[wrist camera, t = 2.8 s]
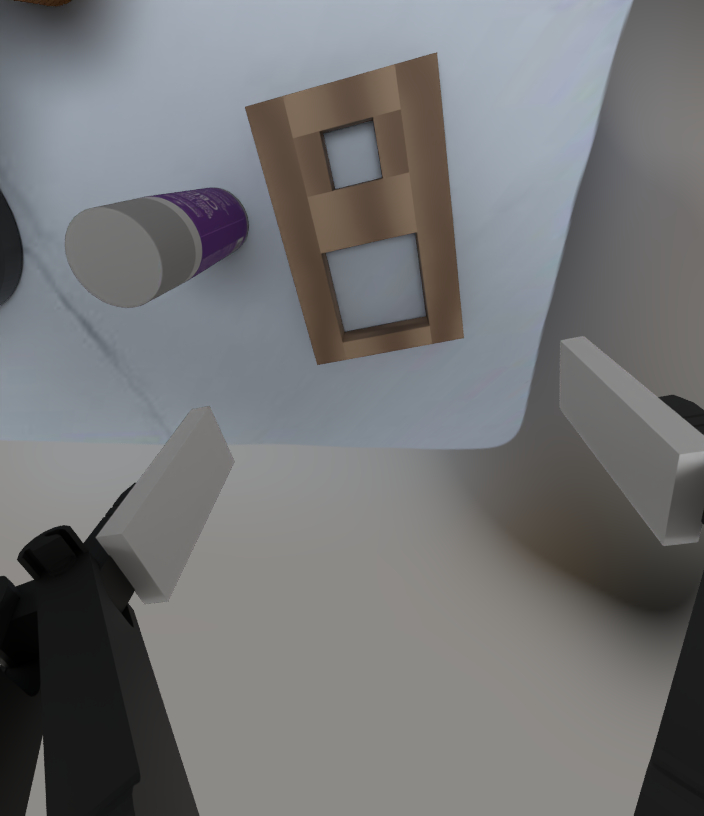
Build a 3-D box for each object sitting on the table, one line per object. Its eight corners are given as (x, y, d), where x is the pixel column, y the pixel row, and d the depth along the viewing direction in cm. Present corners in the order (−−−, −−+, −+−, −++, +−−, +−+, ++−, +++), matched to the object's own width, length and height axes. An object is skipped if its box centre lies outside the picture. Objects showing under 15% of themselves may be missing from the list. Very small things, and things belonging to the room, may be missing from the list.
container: (247, 189, 31) (156, 208, 18) (250, 256, 34) (172, 314, 21) (183, 184, 31) (48, 199, 18) (191, 251, 34) (76, 306, 21)
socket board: (320, 353, 37) (317, 365, 35) (254, 111, 29) (244, 107, 27) (458, 327, 36) (463, 337, 33) (432, 61, 27) (436, 52, 25)
